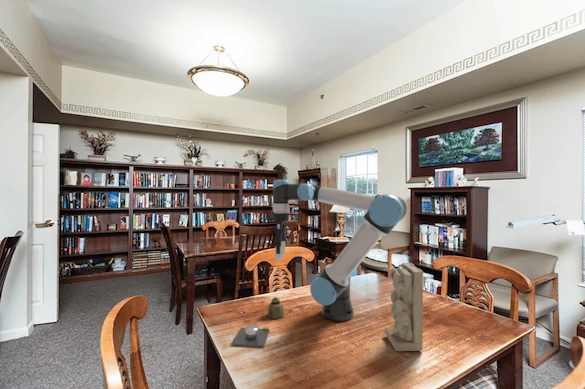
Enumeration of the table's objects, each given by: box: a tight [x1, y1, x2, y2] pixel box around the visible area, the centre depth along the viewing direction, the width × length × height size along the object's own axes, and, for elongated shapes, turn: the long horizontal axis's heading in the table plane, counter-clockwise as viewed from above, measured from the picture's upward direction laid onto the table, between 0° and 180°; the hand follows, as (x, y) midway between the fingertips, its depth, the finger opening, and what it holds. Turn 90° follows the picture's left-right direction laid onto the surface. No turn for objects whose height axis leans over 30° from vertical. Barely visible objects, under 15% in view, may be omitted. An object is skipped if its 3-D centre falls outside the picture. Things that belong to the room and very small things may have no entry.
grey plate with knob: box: [231, 324, 271, 348], centre depth 109 cm, size 12×12×4 cm
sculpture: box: [384, 262, 424, 352], centre depth 105 cm, size 13×10×30 cm
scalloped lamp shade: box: [267, 297, 285, 320], centre depth 129 cm, size 8×7×8 cm
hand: (280, 257), depth 131 cm, fingers open, 13 cm apart
